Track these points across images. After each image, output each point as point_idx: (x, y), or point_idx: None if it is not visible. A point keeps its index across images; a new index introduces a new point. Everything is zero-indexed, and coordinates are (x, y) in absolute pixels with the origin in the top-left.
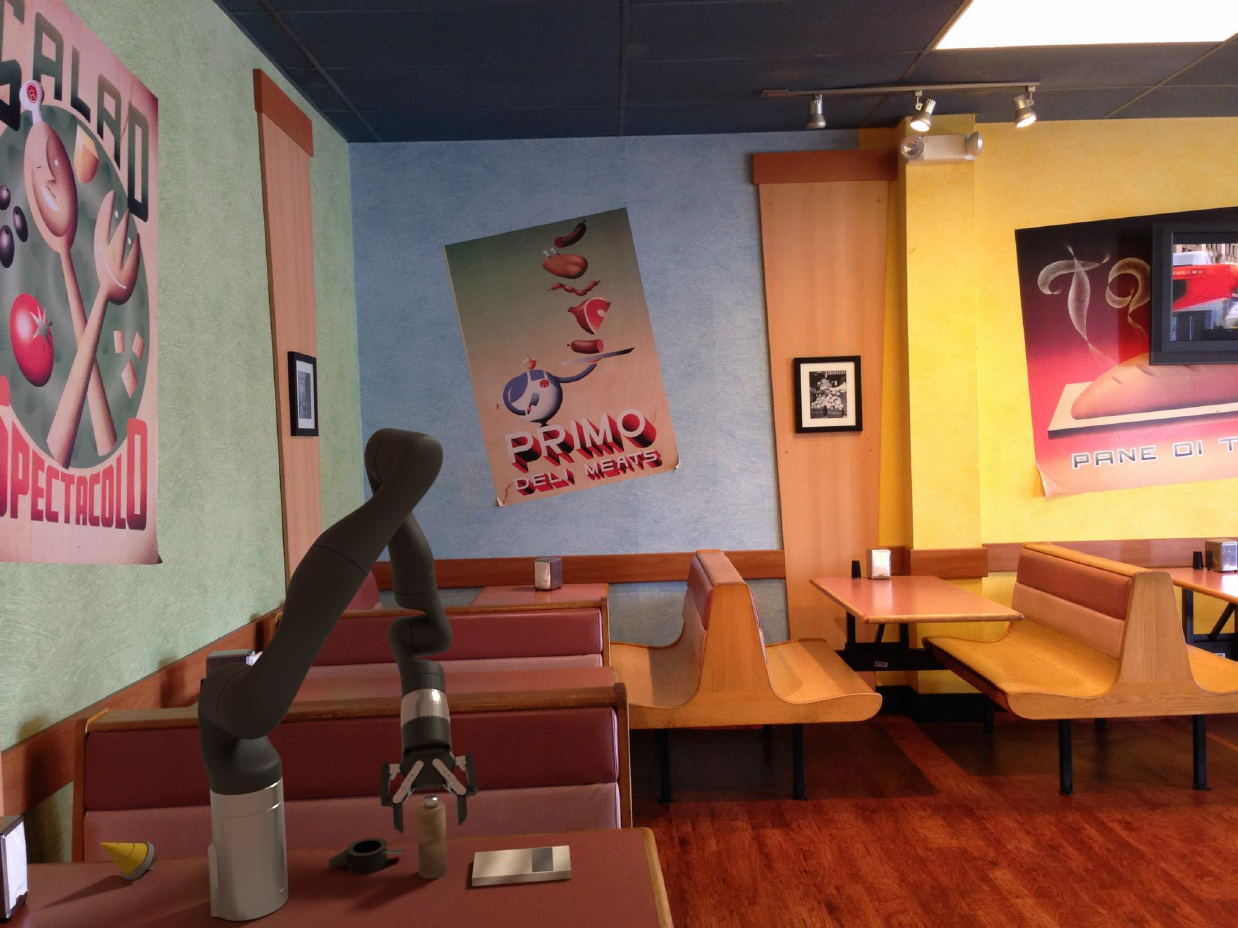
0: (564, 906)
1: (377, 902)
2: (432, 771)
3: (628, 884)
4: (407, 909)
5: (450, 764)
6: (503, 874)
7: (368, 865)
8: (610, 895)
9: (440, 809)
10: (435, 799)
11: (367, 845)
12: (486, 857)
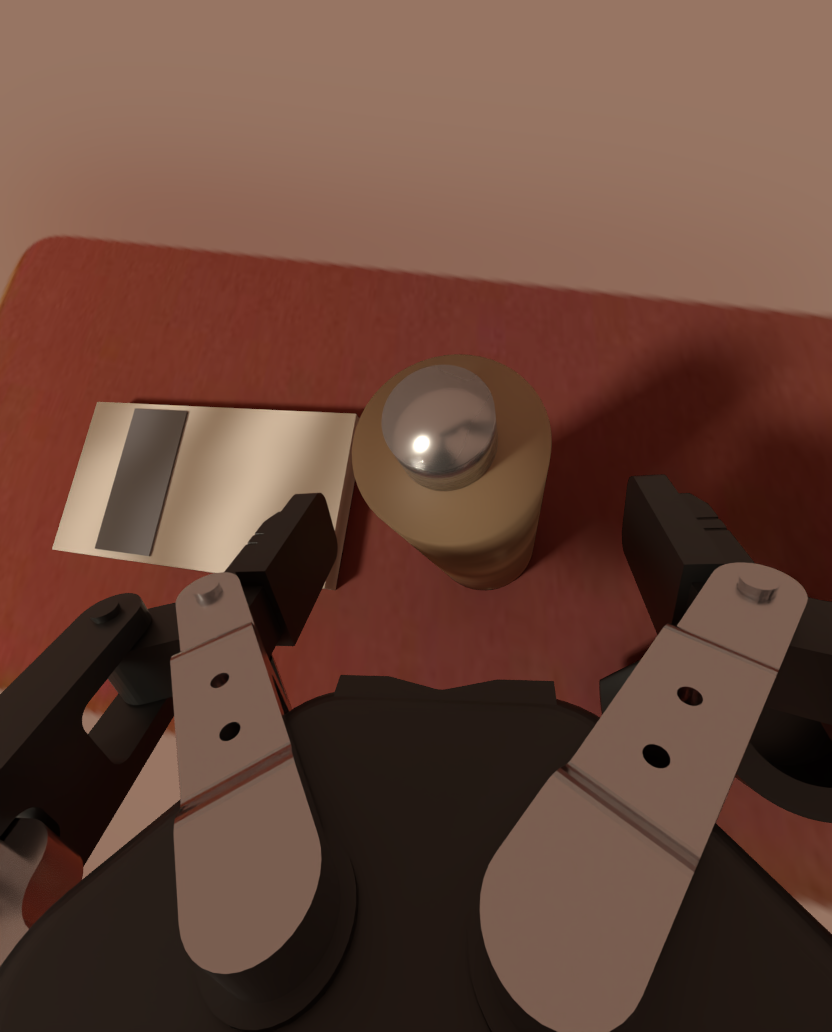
0: (172, 293)
1: (669, 385)
2: (370, 809)
3: (21, 361)
4: (562, 332)
5: (113, 869)
6: (265, 415)
7: None
8: (71, 323)
9: (388, 385)
10: (403, 384)
11: (812, 779)
12: None
